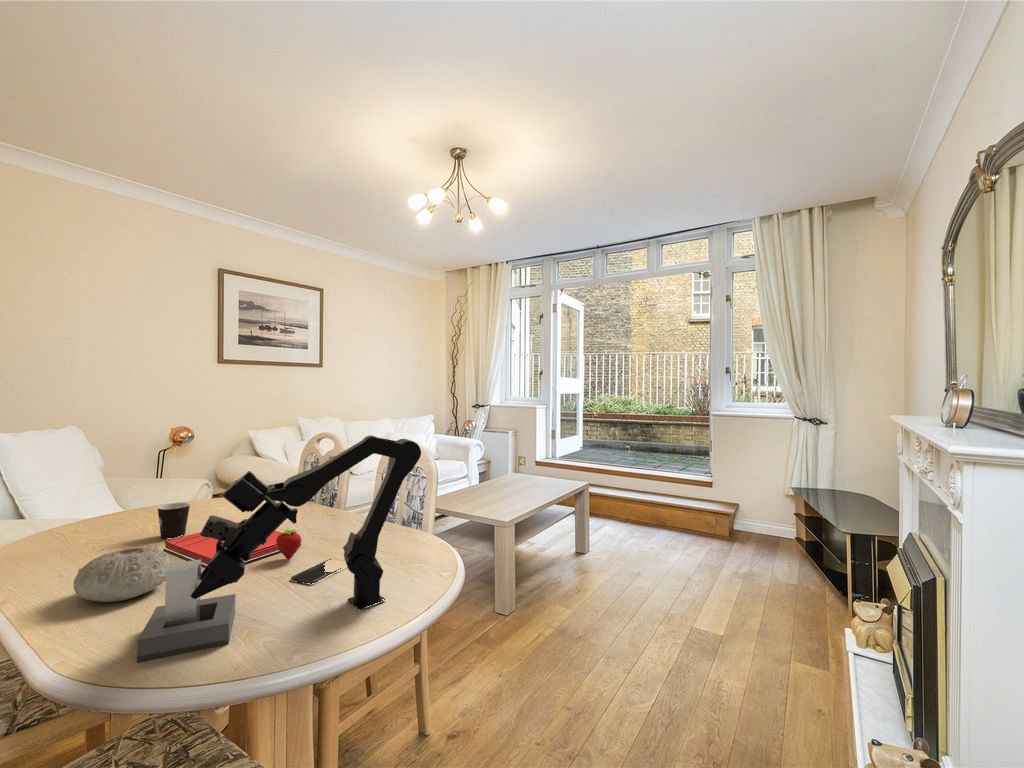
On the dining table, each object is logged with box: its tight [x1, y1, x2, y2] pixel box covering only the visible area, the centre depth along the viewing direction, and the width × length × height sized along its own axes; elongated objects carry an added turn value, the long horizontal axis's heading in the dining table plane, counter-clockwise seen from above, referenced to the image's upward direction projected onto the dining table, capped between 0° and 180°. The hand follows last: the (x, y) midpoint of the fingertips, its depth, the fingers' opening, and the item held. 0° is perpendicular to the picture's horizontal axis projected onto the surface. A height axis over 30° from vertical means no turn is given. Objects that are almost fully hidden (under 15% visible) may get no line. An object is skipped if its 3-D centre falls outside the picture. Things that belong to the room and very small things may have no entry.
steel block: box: [164, 558, 202, 628], centre depth 90 cm, size 5×5×13 cm
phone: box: [290, 558, 341, 584], centre depth 123 cm, size 8×1×15 cm
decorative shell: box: [73, 546, 172, 603], centre depth 108 cm, size 18×18×10 cm
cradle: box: [136, 593, 237, 663], centre depth 90 cm, size 14×14×4 cm
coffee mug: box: [157, 502, 191, 540], centre depth 149 cm, size 12×9×10 cm
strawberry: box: [275, 525, 302, 560], centre depth 132 cm, size 6×8×10 cm
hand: (196, 588), depth 91 cm, fingers open, 9 cm apart
